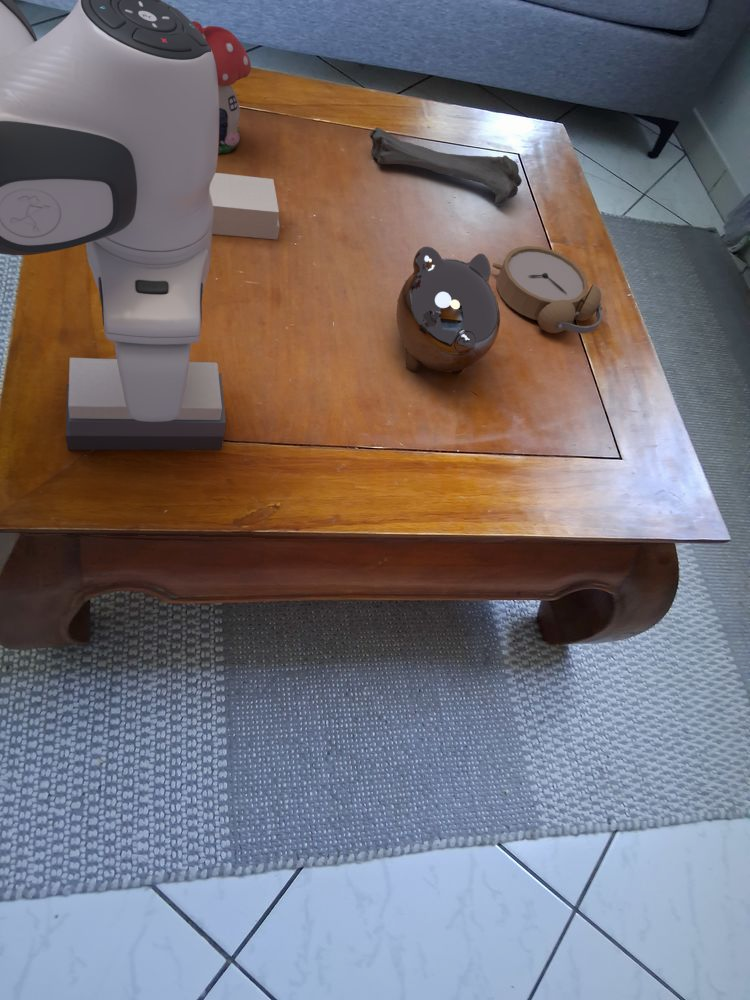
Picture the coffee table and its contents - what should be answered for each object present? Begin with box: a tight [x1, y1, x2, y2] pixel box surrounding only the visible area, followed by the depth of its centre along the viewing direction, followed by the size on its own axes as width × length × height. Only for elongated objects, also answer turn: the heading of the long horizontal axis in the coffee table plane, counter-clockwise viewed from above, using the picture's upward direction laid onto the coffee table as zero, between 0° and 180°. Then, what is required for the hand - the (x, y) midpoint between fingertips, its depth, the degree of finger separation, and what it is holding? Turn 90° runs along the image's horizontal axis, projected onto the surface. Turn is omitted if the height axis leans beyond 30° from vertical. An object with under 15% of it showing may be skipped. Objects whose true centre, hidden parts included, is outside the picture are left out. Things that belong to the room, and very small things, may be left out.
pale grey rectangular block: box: [68, 357, 222, 420], centre depth 69 cm, size 13×6×2 cm, turn 100°
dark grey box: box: [65, 372, 227, 451], centre depth 72 cm, size 14×6×4 cm, turn 100°
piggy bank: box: [395, 246, 501, 375], centre depth 84 cm, size 11×15×12 cm
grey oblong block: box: [210, 172, 281, 240], centre depth 90 cm, size 14×6×4 cm, turn 100°
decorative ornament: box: [190, 20, 252, 155], centre depth 93 cm, size 9×6×15 cm
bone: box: [369, 127, 523, 207], centre depth 105 cm, size 22×6×6 cm, turn 83°
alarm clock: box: [492, 245, 603, 334], centre depth 97 cm, size 11×5×15 cm
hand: (150, 367), depth 67 cm, fingers open, 8 cm apart
